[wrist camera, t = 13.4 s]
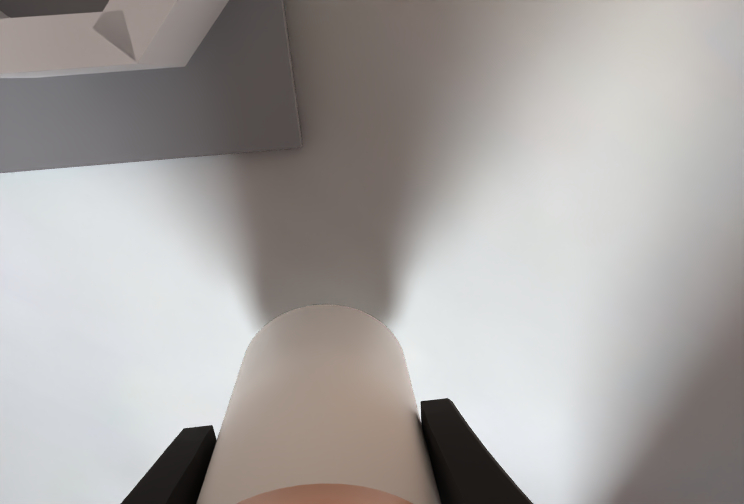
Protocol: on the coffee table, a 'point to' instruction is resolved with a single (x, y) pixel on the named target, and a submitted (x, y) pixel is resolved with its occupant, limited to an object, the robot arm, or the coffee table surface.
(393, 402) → the rounded-end tube
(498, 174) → the coffee table surface
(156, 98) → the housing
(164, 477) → the robot arm
